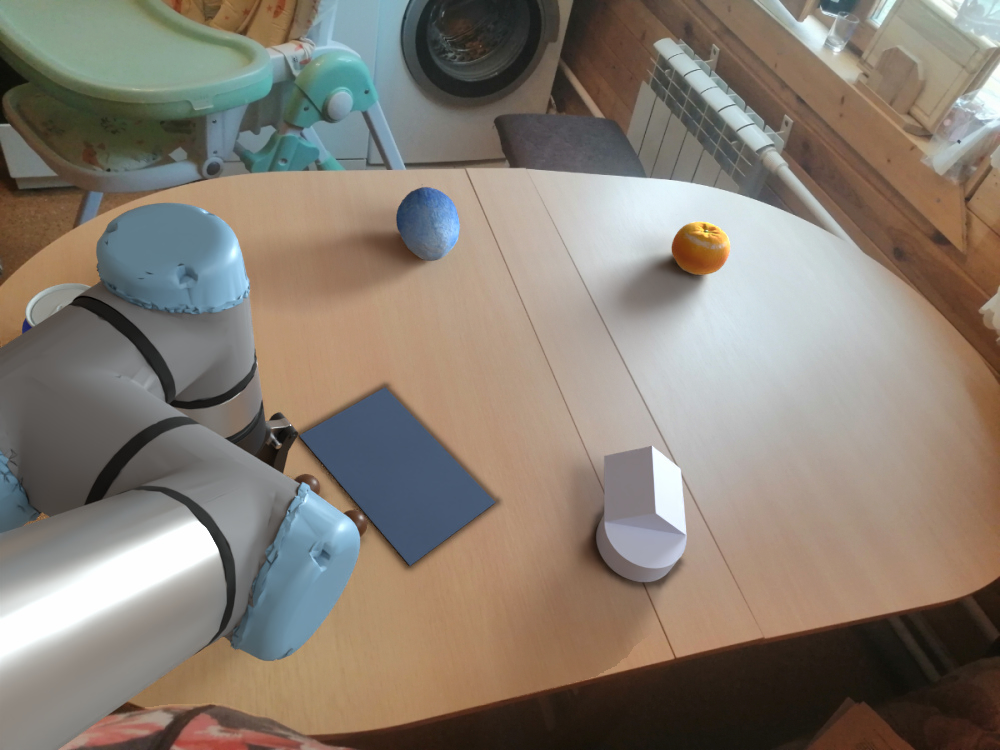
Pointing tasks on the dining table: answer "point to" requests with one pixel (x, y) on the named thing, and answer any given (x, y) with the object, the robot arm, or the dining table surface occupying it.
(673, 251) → the fruit
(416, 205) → the egg
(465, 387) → the dining table surface
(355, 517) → the ball
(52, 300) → the beer can
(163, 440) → the robot arm
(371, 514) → the mat
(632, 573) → the wedge on round base
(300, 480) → the ball
